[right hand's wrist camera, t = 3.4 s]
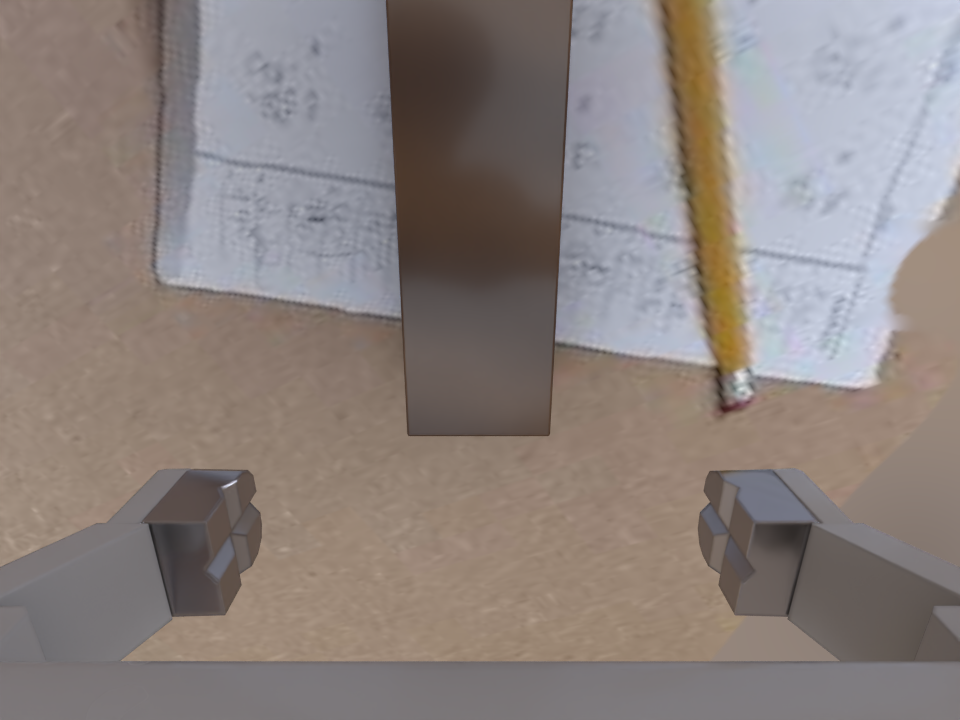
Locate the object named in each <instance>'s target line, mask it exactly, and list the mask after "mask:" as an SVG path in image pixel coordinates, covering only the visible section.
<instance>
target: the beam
mask: <svg viewBox="0 0 960 720" xmlns="http://www.w3.org/2000/svg"><path fill="white" fill-rule="evenodd" d="M572 9H573V0H386V13H387V33H388V53H389V73H390V93H391V114H392V134H393V154H394V174H395V194H396V214H397V234H398V254H399V274H400V294H401V315H402V335H403V355H404V375H405V395H406V415H407V434H408V436H549V435H550V424H551V405H552V386H553V367H554V348H555V329H556V311H557V292H558V273H559V254H560V235H561V217H562V198H563V179H564V160H565V141H566V122H567V104H568V85H569V66H570V47H571V28H572Z"/></svg>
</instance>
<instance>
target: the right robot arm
mask: <svg viewBox="0 0 960 720" xmlns="http://www.w3.org/2000/svg"><path fill="white" fill-rule="evenodd" d="M255 493H256V487H255V482H254V477H253V475H252V474H251V473H250V472H249V471H248V470H224V469H163V470H158V471H157V472H156V473H155V474H154V475H153V476H152V477H151V478H150V479H149V481H148V482H147V483H146V484H145V485H144V486H143V487H142V488H141V489H140V490H139V491H138V492H137V493H136V494H135V495H134V496H133V497H132V498H131V499H130V500H129V501H128V502H127V503H126V504H125V505H124V506H123V507H122V508H121V509H120V510H119V511H118V512H117V513H116V514H115V515H114V516H113V517H112V518H111V519H110V520H109V521H108V522H107V523H96V524H94V525H92V526H90V527H87V528H85V529H83V530H81V531H79V532H76V533H74V534H72V535H70V536H68V537H65V538H63V539H61V540H59V541H57V542H54V543H52V544H50V545H48V546H46V547H43V548H41V549H39V550H37V551H35V552H32V553H30V554H28V555H26V556H24V557H21V558H19V559H17V560H15V561H13V562H10V563H8V564H6V565H4V566H1V567H0V720H960V567H958V566H956V565H954V564H952V563H949V562H947V561H945V560H943V559H941V558H938V557H936V556H934V555H932V554H930V553H927V552H925V551H923V550H921V549H919V548H916V547H914V546H912V545H910V544H908V543H905V542H903V541H901V540H899V539H897V538H894V537H892V536H890V535H888V534H886V533H883V532H881V531H879V530H877V529H875V528H872V527H870V526H868V525H866V524H864V523H853V522H852V521H851V520H850V519H849V518H848V517H847V516H846V515H845V514H844V513H843V512H842V511H841V510H840V509H839V508H838V507H837V506H836V505H835V504H834V503H833V502H832V501H831V500H830V499H829V498H828V497H827V496H826V495H825V493H824V492H823V491H822V490H821V489H820V488H819V487H818V486H817V485H816V484H815V483H814V482H813V481H812V480H811V479H810V478H809V477H808V476H807V475H806V474H805V473H804V472H803V471H801V470H798V469H795V468H789V469H766V470H726V471H709V473H708V475H707V478H706V481H705V486H704V493H705V494H706V496H707V498H708V499H709V501H710V503H709V504H708V505H707V506H706V507H705V508H704V509H703V510H702V511H701V512H700V516H699V524H698V535H699V545H700V548H701V551H702V554H703V557H704V559H705V561H706V563H707V565H708V566H709V567H710V568H712V569H713V570H715V571H716V572H718V573H719V574H720V579H719V587H720V589H721V591H722V592H723V594H724V596H725V598H726V600H727V602H728V603H729V605H730V607H731V609H732V611H733V612H734V614H735V615H745V616H782V617H788V620H789V621H791V622H792V623H793V624H794V625H796V626H797V627H798V628H799V629H801V630H802V631H803V632H804V633H806V634H807V635H808V636H809V637H811V638H812V639H813V640H815V641H816V642H817V643H818V644H819V645H821V646H822V647H823V648H824V649H826V650H827V651H828V652H830V653H831V654H832V655H833V656H835V657H836V658H837V659H838V660H840V661H121V660H122V659H123V658H124V657H126V656H127V655H128V654H129V653H131V652H132V651H133V650H134V649H136V648H137V647H138V646H139V645H141V644H142V643H143V642H145V641H146V640H147V639H148V638H150V637H151V636H152V635H153V634H155V633H156V632H157V631H158V630H160V629H161V628H162V627H163V626H165V625H166V624H167V623H168V622H170V621H171V620H172V617H178V616H213V615H225V614H226V613H227V611H228V609H229V607H230V605H231V603H232V602H233V600H234V598H235V596H236V594H237V592H238V591H239V589H240V587H241V579H240V574H241V573H242V572H244V571H245V570H247V569H248V568H250V567H251V566H252V565H253V563H254V561H255V559H256V557H257V555H258V551H259V547H260V543H261V538H262V522H261V516H260V512H259V511H258V510H257V509H256V508H255V507H254V506H253V505H252V504H251V503H250V501H251V499H252V498H253V496H254V494H255Z"/></svg>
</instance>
